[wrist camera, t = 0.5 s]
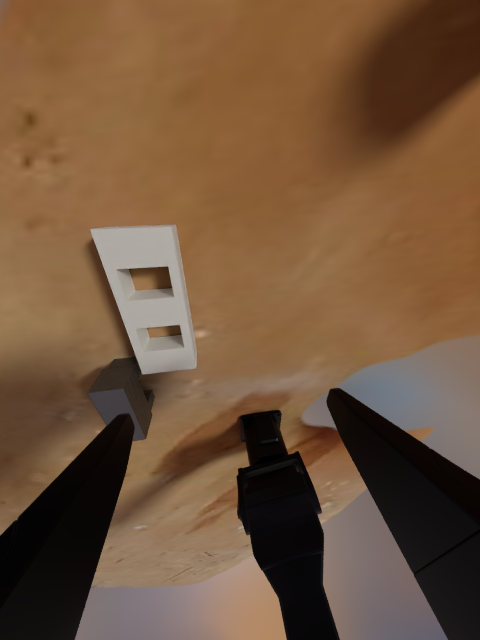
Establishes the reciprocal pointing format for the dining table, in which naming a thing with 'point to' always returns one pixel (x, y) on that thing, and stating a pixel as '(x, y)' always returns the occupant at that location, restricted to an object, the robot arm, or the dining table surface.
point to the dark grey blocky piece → (123, 395)
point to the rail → (149, 293)
